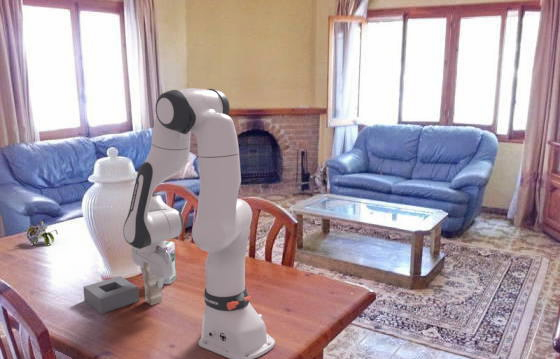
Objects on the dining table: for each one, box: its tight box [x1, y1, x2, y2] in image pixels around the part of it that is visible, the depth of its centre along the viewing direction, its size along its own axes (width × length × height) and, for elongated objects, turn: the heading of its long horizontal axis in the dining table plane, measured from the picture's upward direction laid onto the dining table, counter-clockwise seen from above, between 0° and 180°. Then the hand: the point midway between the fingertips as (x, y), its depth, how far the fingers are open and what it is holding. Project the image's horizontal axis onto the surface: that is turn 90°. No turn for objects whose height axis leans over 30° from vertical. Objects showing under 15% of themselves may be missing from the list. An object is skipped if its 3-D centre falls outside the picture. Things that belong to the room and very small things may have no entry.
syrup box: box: [163, 240, 178, 285], centre depth 179 cm, size 6×6×14 cm
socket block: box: [83, 275, 140, 315], centre depth 164 cm, size 13×13×5 cm
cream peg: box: [143, 262, 163, 306], centre depth 163 cm, size 4×4×14 cm
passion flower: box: [25, 220, 59, 245], centre depth 221 cm, size 11×11×12 cm
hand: (153, 282), depth 163 cm, fingers open, 7 cm apart
